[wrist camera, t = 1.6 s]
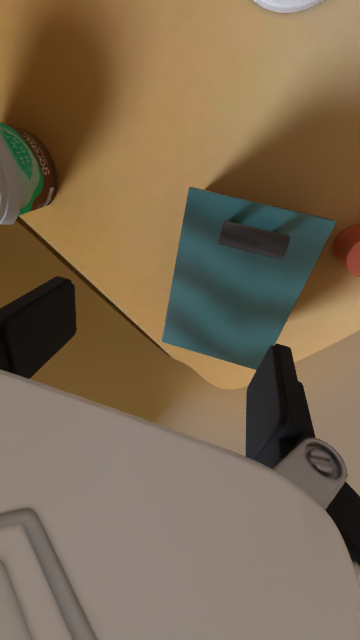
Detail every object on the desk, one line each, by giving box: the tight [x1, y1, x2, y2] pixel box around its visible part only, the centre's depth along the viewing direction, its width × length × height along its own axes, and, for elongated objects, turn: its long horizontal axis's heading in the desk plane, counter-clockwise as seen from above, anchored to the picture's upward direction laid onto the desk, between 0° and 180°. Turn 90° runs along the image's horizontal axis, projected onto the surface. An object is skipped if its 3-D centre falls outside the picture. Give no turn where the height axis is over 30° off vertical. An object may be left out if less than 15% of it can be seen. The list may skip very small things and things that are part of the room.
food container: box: [0, 123, 57, 224], centre depth 28 cm, size 12×6×10 cm, turn 34°
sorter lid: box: [162, 187, 337, 370], centre depth 24 cm, size 17×13×5 cm
